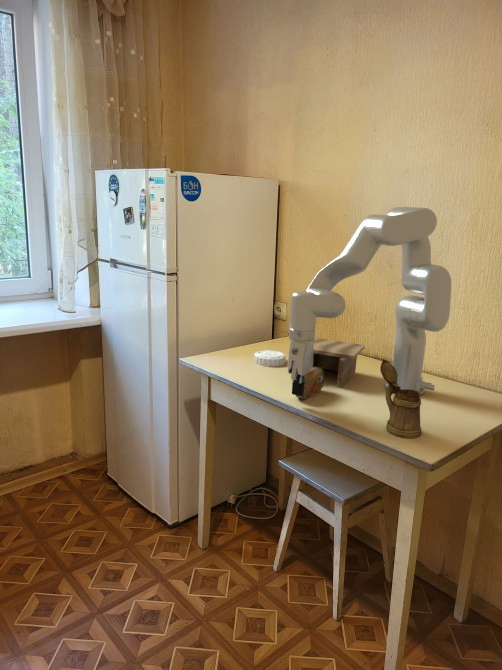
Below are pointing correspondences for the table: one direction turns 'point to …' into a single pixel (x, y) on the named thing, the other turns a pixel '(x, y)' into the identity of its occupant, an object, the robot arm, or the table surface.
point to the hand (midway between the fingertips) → (297, 394)
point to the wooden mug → (401, 405)
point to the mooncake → (269, 358)
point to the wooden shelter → (337, 357)
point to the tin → (312, 382)
